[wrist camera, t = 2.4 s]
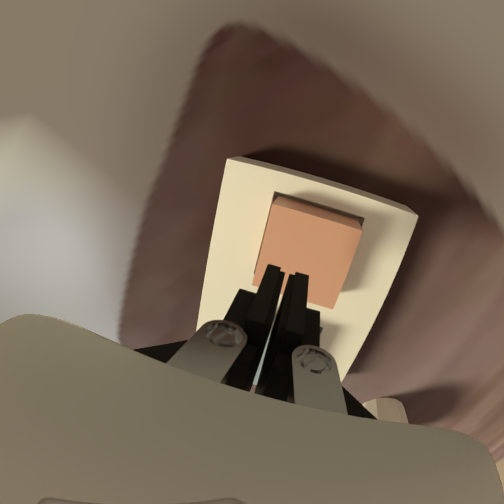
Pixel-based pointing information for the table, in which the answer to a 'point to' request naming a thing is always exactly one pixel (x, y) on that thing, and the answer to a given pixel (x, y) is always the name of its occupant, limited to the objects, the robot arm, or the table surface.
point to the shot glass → (387, 409)
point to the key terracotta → (309, 247)
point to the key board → (323, 196)
